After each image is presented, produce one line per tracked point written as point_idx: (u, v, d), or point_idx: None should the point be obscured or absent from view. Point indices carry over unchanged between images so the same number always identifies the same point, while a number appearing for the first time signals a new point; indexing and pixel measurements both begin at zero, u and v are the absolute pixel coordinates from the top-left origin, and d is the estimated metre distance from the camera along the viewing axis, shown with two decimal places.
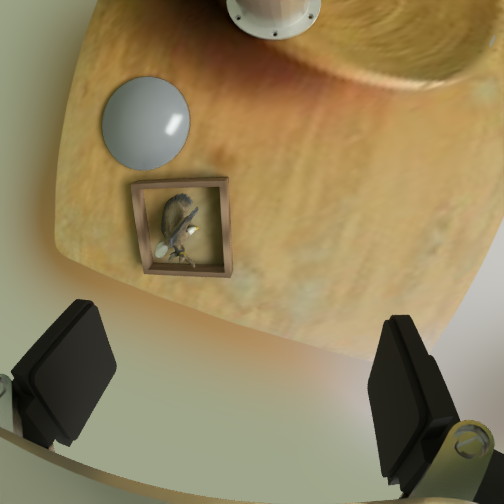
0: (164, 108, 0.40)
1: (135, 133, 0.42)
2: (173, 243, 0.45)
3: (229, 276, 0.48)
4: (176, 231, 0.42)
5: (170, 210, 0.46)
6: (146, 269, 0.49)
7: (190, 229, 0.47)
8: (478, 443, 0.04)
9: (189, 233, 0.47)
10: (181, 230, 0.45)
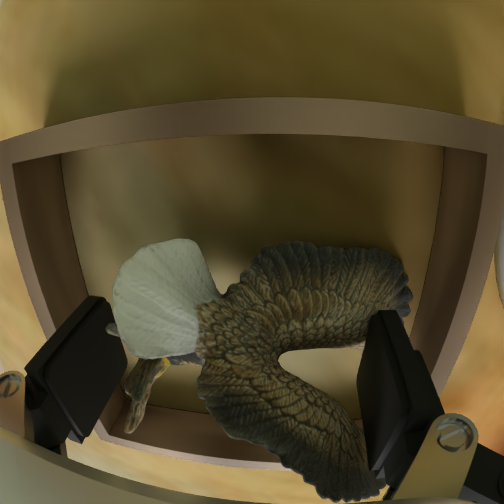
0: None
1: None
2: None
3: (103, 438, 0.13)
4: (321, 482, 0.06)
5: (373, 302, 0.09)
6: (11, 157, 0.07)
7: None
8: (461, 436, 0.05)
9: None
10: None
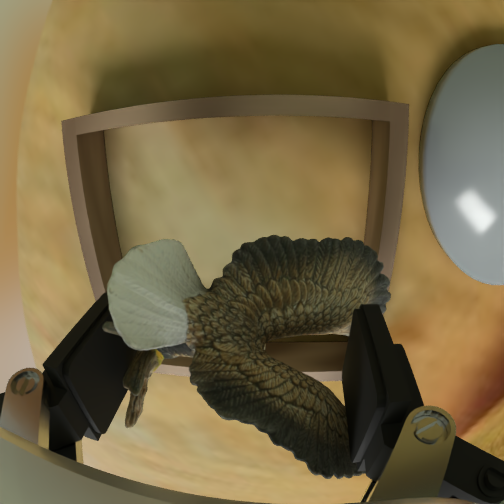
0: None
1: None
2: None
3: None
4: (311, 459, 0.07)
5: (350, 288, 0.10)
6: (76, 130, 0.12)
7: None
8: (439, 427, 0.05)
9: None
10: None
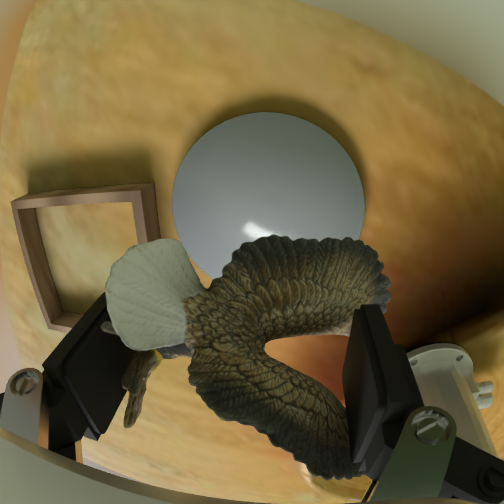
0: None
1: (246, 194, 0.22)
2: None
3: (49, 327, 0.29)
4: (311, 460, 0.07)
5: (350, 288, 0.10)
6: (16, 207, 0.23)
7: None
8: (439, 428, 0.05)
9: None
10: None
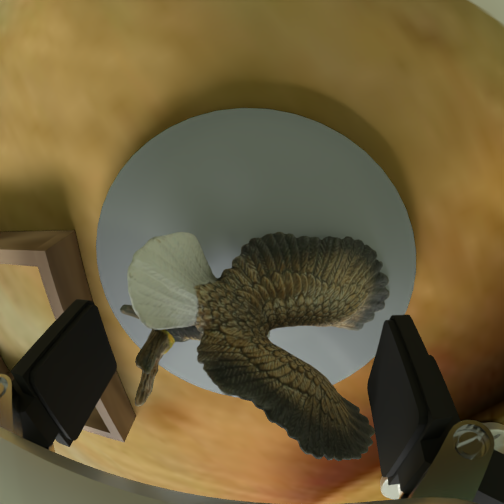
0: None
1: (212, 258, 0.13)
2: None
3: None
4: (303, 438, 0.08)
5: (348, 284, 0.11)
6: None
7: None
8: (478, 443, 0.04)
9: None
10: None
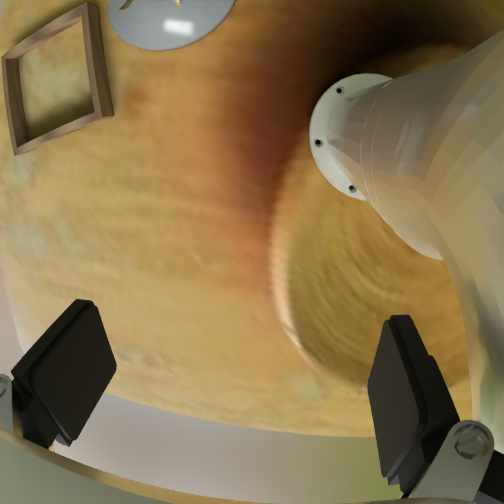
0: (189, 12, 0.24)
1: None
2: None
3: (15, 154, 0.30)
4: None
5: None
6: (5, 57, 0.25)
7: None
8: (478, 443, 0.04)
9: None
10: None
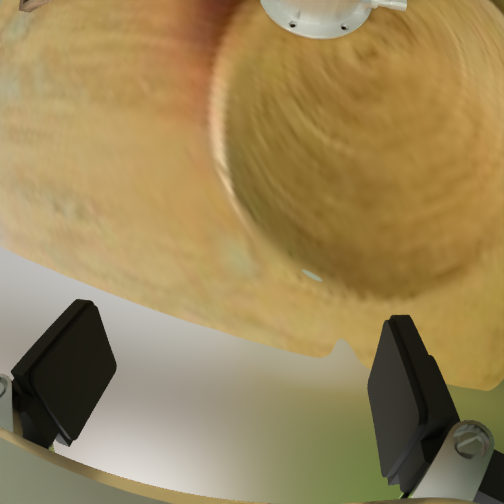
0: None
1: None
2: None
3: (19, 9, 0.25)
4: None
5: None
6: None
7: None
8: (478, 443, 0.04)
9: None
10: None
